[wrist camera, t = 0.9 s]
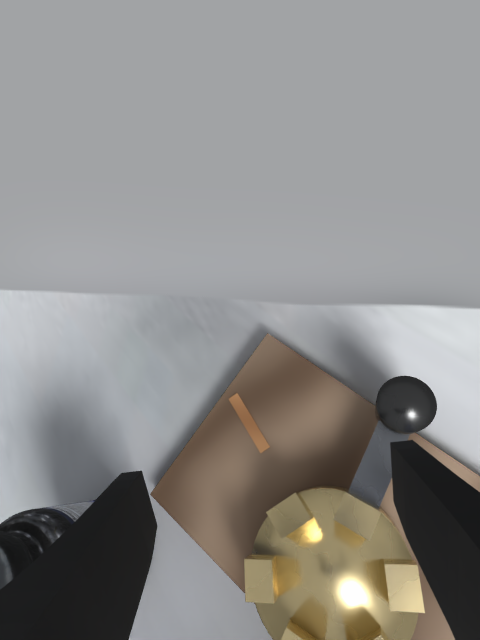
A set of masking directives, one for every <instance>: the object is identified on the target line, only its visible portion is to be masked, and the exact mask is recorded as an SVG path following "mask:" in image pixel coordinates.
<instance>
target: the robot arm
mask: <svg viewBox="0 0 480 640" xmlns="http://www.w3.org/2000/svg"><path fill="white" fill-rule="evenodd" d="M390 448H391V467H392V485H393V502H394V504H395V507H396V510H397V513H398V516H399V519H400V522H401V524H402V527H403V530H404V533H405V535H406V538H407V540H408V542H409V544H410V546H411V549H412V551H413V553H414V555H415V557H416V559H417V561H418V563H419V565H420V567H421V569H422V571H423V573H424V575H425V577H426V580H427V582H428V584H429V586H430V588H431V590H432V592H433V594H434V596H435V598H436V600H437V602H438V604H439V606H440V608H441V610H442V612H443V614H444V616H445V618H446V620H447V623H448V625H449V627H450V629H451V631H452V634H453V636H454V638H455V640H480V492H479V491H478V490H476V489H475V488H474V487H472V486H471V485H470V484H468V483H467V482H466V481H464V480H463V479H461V478H460V477H459V476H458V475H456V474H455V473H454V472H452V471H451V470H450V469H449V468H447V467H446V466H445V465H443V464H442V463H441V462H440V461H438V460H437V459H436V458H435V457H433V456H432V455H431V454H430V453H428V452H427V451H426V450H425V449H423V448H422V447H421V446H420V445H418V444H417V443H416V442H415V441H413V440H407V441H398V442H390ZM156 530H157V523H156V519H155V516H154V512H153V509H152V505H151V502H150V498H149V495H148V491H147V488H146V484H145V481H144V477H143V473H142V471H135V472H127V473H121V474H120V475H119V476H118V477H117V478H116V479H115V480H114V481H113V482H112V483H111V484H110V486H109V487H108V488H107V489H106V490H105V491H104V492H103V493H102V494H101V495H100V496H99V497H98V498H97V499H96V500H95V501H94V502H93V503H92V505H91V506H90V507H89V508H88V509H87V510H86V511H85V512H84V513H83V514H82V515H81V516H80V517H79V518H78V519H77V520H76V521H75V522H74V523H73V524H72V525H71V526H70V527H69V528H68V529H67V530H66V531H65V532H64V533H63V534H62V535H61V536H60V537H59V538H58V539H57V540H56V541H55V542H54V543H53V544H52V545H51V546H50V547H48V548H47V549H46V550H45V551H44V552H43V553H42V554H41V555H40V556H39V557H38V558H37V559H36V560H35V561H34V562H32V563H31V564H30V565H29V566H28V567H27V568H26V569H24V570H23V571H22V572H21V573H20V574H19V575H17V576H16V577H15V578H14V579H13V580H11V581H10V582H9V583H8V584H7V585H5V586H4V587H3V588H2V589H1V590H0V640H128V639H129V636H130V632H131V629H132V626H133V622H134V619H135V616H136V612H137V609H138V605H139V602H140V599H141V595H142V592H143V589H144V585H145V582H146V578H147V575H148V571H149V568H150V564H151V560H152V554H153V549H154V543H155V537H156Z"/></svg>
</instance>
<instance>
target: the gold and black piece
mask: <svg viewBox="0 0 480 640" xmlns="http://www.w3.org/2000/svg"><path fill="white" fill-rule="evenodd" d="M436 410H437V403H436V398H435V396H434V394H433V392H432V390H431V389H430V388H429V387H428V386H427V385H426V384H425V383H424V382H422V381H421V380H419V379H417V378H414V377H410V376H398V377H394V378H392V379H390V380H388V381H387V382H386V383H384V385H383V386H382V387H381V388H380V390H379V393H378V396H377V401H376V406H375V415H376V418H377V421H378V424H377V426H376V428H375V430H374V433H373V435H372V437H371V440H370V442H369V444H368V447H367V449H366V451H365V453H364V456H363V458H362V460H361V463H360V465H359V467H358V470H357V472H356V474H355V476H354V479H353V481H352V483H351V486H350V488H349V489H346V488H342V487H337V486H317V487H312V488H308V489H306V490H303V491H300V492H299V491H297V492H295V493H294V494H292V495H291V496H289V497H288V498H286V499H285V500H283V501H282V502H280V503H279V504H277V505H276V506H274V507H273V508H272V509H270V510H269V511H267V512H266V513H267V515H268V517H267V518H266V519H265V521H264V522H263V524H262V526H261V528H260V529H259V531H258V534H257V536H256V539H255V542H254V546H253V550H252V555H249V556H247V557H246V558H245V559H244V568H245V601H246V602H255V605H256V608H257V611H258V613H259V615H260V618H261V620H262V622H263V624H264V626H265V628H266V629H267V631H268V633H269V634H270V636H271V637H272V639H273V640H411V638H412V636H413V633H414V630H415V627H416V624H417V619H418V613H425V610H424V604H423V597H422V591H421V584H420V578H419V571H418V565H417V563H416V561H415V560H412V557H411V554H410V552H409V550H408V548H407V546H406V544H405V541H404V539H403V537H402V535H401V533H400V532H399V530H398V528H397V527H396V525H395V524H394V523H393V521H392V520H391V519H390V517H389V516H388V515H387V514H386V513H385V512H384V511H383V510H382V509H381V508H380V505H381V502H382V500H383V498H384V495H385V493H386V491H387V488H388V486H389V483H390V481H391V479H392V467H391V448H390V442H398V441H407V440H408V438H409V436H410V435H411V434H414V433H416V432H418V431H420V430H422V429H424V428H426V427H427V426H428V425H429V424H430V423H431V422H432V421H433V419H434V417H435V415H436Z"/></svg>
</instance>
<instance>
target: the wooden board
mask: <svg viewBox="0 0 480 640" xmlns="http://www.w3.org/2000/svg"><path fill="white" fill-rule="evenodd" d="M377 424H378V421H377V418H376V415H375V405H373V404H372V403H370V402H369V401H367V400H366V399H365V398H363V397H362V396H360V395H359V394H357V393H356V392H354V391H353V390H351V389H350V388H348V387H347V386H345V385H344V384H342V383H341V382H339V381H338V380H336V379H335V378H333V377H332V376H330V375H329V374H327V373H326V372H324V371H323V370H321V369H320V368H318V367H317V366H316V365H314V364H313V363H311V362H310V361H308V360H307V359H305V358H304V357H302V356H301V355H299V354H298V353H296V352H295V351H293V350H292V349H290V348H289V347H287V346H286V345H284V344H283V343H281V342H280V341H278V340H277V339H275V338H274V337H272V336H271V335H269V334H268V333H267V335H266V336H265V337H264V339H263V340H262V341H261V343H260V344H259V346H258V347H257V348H256V350H255V351H254V352H253V354H252V355H251V357H250V358H249V359H248V361H247V362H246V363H245V365H244V366H243V368H242V369H241V370H240V372H239V373H238V374H237V376H236V377H235V378H234V380H233V381H232V383H231V384H230V385H229V387H228V388H227V389H226V391H225V392H224V394H223V395H222V396H221V398H220V399H219V400H218V402H217V403H216V405H215V406H214V407H213V409H212V410H211V411H210V413H209V414H208V415H207V417H206V418H205V420H204V421H203V422H202V424H201V425H200V426H199V428H198V429H197V431H196V432H195V433H194V435H193V436H192V437H191V439H190V440H189V442H188V443H187V444H186V446H185V447H184V448H183V450H182V451H181V453H180V454H179V455H178V457H177V458H176V459H175V461H174V462H173V463H172V465H171V466H170V468H169V469H168V470H167V472H166V473H165V474H164V476H163V477H162V479H161V480H160V481H159V483H158V484H157V485H156V487H155V488H154V490H153V491H152V492H151V494H150V495H151V496H152V497H153V498H154V499H155V500H156V501H157V502H158V503H159V504H160V505H161V506H162V507H163V508H164V509H165V510H166V511H167V512H168V514H169V515H170V516H171V517H172V518H173V519H174V520H175V521H176V522H177V523H178V524H179V525H180V526H181V527H182V528H183V529H184V530H185V531H186V532H187V533H188V534H189V535H190V537H191V538H192V539H193V540H194V541H195V542H196V543H197V544H198V545H199V546H200V547H201V548H202V549H203V550H204V551H205V552H206V553H207V554H208V555H209V556H210V557H211V558H212V560H213V561H214V562H215V563H216V564H217V565H218V566H219V567H220V568H221V569H222V570H223V571H224V572H225V573H226V574H227V575H228V576H229V577H230V578H231V579H232V580H233V581H234V583H235V584H236V585H237V586H238V587H239V588H240V589H241V590H242V591H243V592H244V593H245V568H244V559H245V558H246V557H247V556H249V555H252V550H253V546H254V542H255V539H256V536H257V534H258V531H259V529H260V528H261V526H262V524H263V522H264V521H265V519H266V518H267V517H268V515H267V513H266V512H267V511H269V510H270V509H272V508H273V507H274V506H276V505H277V504H279V503H280V502H282V501H283V500H285V499H286V498H288V497H289V496H291V495H292V494H294V493H295V492H297V491H299V492H300V491H303V490H306V489H308V488H312V487H317V486H337V487H342V488H346V489H349V488H350V486H351V483H352V481H353V479H354V476H355V474H356V472H357V470H358V467H359V465H360V463H361V460H362V458H363V456H364V453H365V451H366V449H367V447H368V444H369V442H370V440H371V437H372V435H373V433H374V430H375V428H376V426H377ZM408 440H413V441H415V442H416V443H417V444H418V445H420V446H421V447H422V448H423V449H425V450H426V451H427V452H428V453H430V454H431V455H432V456H433V457H435V458H436V459H437V460H438V461H440V462H441V463H442V464H443V465H445V466H446V467H447V468H449V469H450V470H451V471H452V472H454V473H455V474H456V475H458V476H459V477H460V478H461V479H463V480H464V481H466V482H467V483H468V484H470V485H471V486H472V487H474V488H475V489H476V490H478V491H479V492H480V476H479V475H477V474H476V473H474V472H473V471H471V470H470V469H468V468H467V467H465V466H464V465H463V464H461V463H460V462H458V461H457V460H455V459H454V458H452V457H451V456H449V455H448V454H446V453H445V452H443V451H442V450H440V449H439V448H437V447H436V446H434V445H433V444H431V443H430V442H428V441H427V440H425V439H424V438H422V437H421V436H419V435H418V434H416V433H414V434H411V435H410V436H409V438H408ZM380 508H381V509H382V510H383V511H384V512H385V513H386V514H387V515H388V516H389V517H390V519H391V520H392V521H393V523H394V524H395V525H396V527H397V528H398V530H399V532H400V533H401V535H402V537H403V539H404V541H405V544H406V546H407V548H408V550H409V552H410V554H411V557H412V560H415V561H416V563H417V565H418V571H419V578H420V584H421V591H422V597H423V604H424V610H425V613H418V619H417V624H416V627H415V630H414V633H413V636H412V638H411V640H455V638H454V636H453V634H452V631H451V629H450V627H449V625H448V623H447V620H446V618H445V616H444V614H443V612H442V610H441V608H440V606H439V604H438V602H437V600H436V598H435V596H434V594H433V592H432V590H431V588H430V586H429V584H428V582H427V580H426V577H425V575H424V573H423V571H422V569H421V567H420V565H419V563H418V561H417V559H416V557H415V555H414V553H413V551H412V549H411V546H410V544H409V542H408V540H407V538H406V535H405V533H404V530H403V527H402V524H401V522H400V519H399V516H398V513H397V510H396V507H395V504H394V502H393V485H392V479H391V481H390V483H389V486H388V488H387V491H386V493H385V495H384V498H383V500H382V502H381V505H380ZM254 603H255V602H254Z"/></svg>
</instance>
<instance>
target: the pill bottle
mask: <svg viewBox="0 0 480 640" xmlns="http://www.w3.org/2000/svg"><path fill="white" fill-rule="evenodd" d="M94 501H95V500H94ZM94 501H87V502H80V503H74V504H67V505H60V506H53V507H46V508H40V509H31V510H27V511H23V512H21V513H18V514H15V515H13V516H11V517H9V518H8V519H7V520H5V521H4V522H2V523H1V524H0V590H1V589H2V588H3V587H4V586H5V585H7V584H8V583H9V582H10V581H11V580H13V579H14V578H15V577H16V576H17V575H19V574H20V573H21V572H22V571H23V570H24V569H26V568H27V567H28V566H29V565H30V564H31V563H32V562H34V561H35V560H36V559H37V558H38V557H39V556H40V555H41V554H42V553H43V552H44V551H45V550H46V549H47V548H48V547H50V546H51V545H52V544H53V543H54V542H55V541H56V540H57V539H58V538H59V537H60V536H61V535H62V534H63V533H64V532H65V531H66V530H67V529H68V528H69V527H70V526H71V525H72V524H73V523H74V522H75V521H76V520H77V519H78V518H79V517H80V516H81V515H82V514H83V513H84V512H85V511H86V510H87V509H88V508H89V507H90V506H91V505H92V503H93V502H94Z"/></svg>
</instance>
